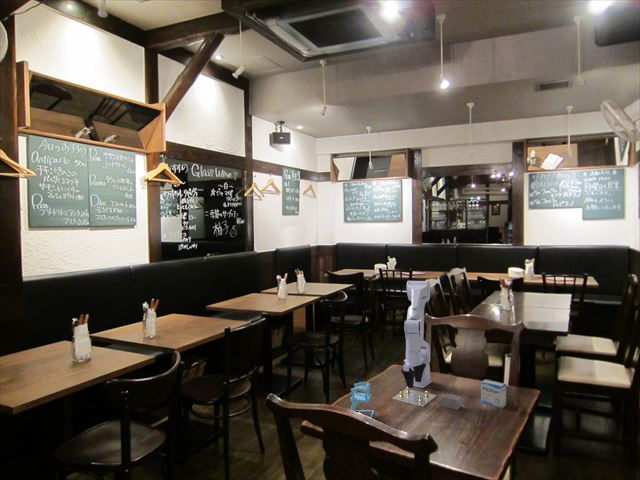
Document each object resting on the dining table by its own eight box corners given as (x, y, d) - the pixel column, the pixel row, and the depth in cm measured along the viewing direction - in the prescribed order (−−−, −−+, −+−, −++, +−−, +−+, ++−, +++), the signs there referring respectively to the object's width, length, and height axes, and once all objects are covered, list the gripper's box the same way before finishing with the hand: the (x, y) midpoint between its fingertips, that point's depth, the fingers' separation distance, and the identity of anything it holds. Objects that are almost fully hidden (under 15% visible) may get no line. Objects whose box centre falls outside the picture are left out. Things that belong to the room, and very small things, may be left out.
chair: (352, 410, 162) (352, 378, 162) (374, 412, 160) (374, 380, 159) (347, 419, 155) (346, 385, 155) (370, 421, 152) (369, 387, 152)
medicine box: (480, 404, 165) (480, 381, 165) (485, 400, 169) (485, 378, 168) (502, 409, 160) (501, 386, 160) (506, 406, 163) (506, 383, 163)
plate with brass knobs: (405, 391, 180) (405, 383, 180) (436, 397, 173) (436, 390, 173) (392, 400, 171) (392, 392, 171) (423, 407, 163) (423, 399, 163)
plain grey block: (441, 402, 170) (441, 390, 170) (470, 408, 163) (470, 396, 163) (432, 409, 162) (432, 397, 162) (462, 416, 156) (462, 404, 156)
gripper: (412, 344, 180) (412, 377, 180) (395, 352, 168) (396, 388, 168) (428, 347, 175) (428, 380, 176) (412, 355, 164) (413, 391, 164)
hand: (414, 384), depth 172 cm, fingers open, 7 cm apart
